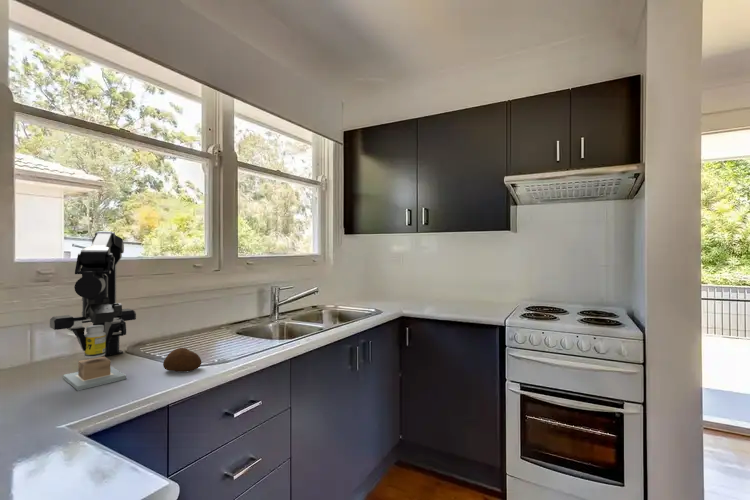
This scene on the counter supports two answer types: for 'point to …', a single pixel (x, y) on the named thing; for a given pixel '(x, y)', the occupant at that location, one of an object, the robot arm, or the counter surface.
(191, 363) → the potato
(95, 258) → the robot arm
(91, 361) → the walnut block
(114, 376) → the build board
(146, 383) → the counter surface
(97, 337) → the supplement bottle
